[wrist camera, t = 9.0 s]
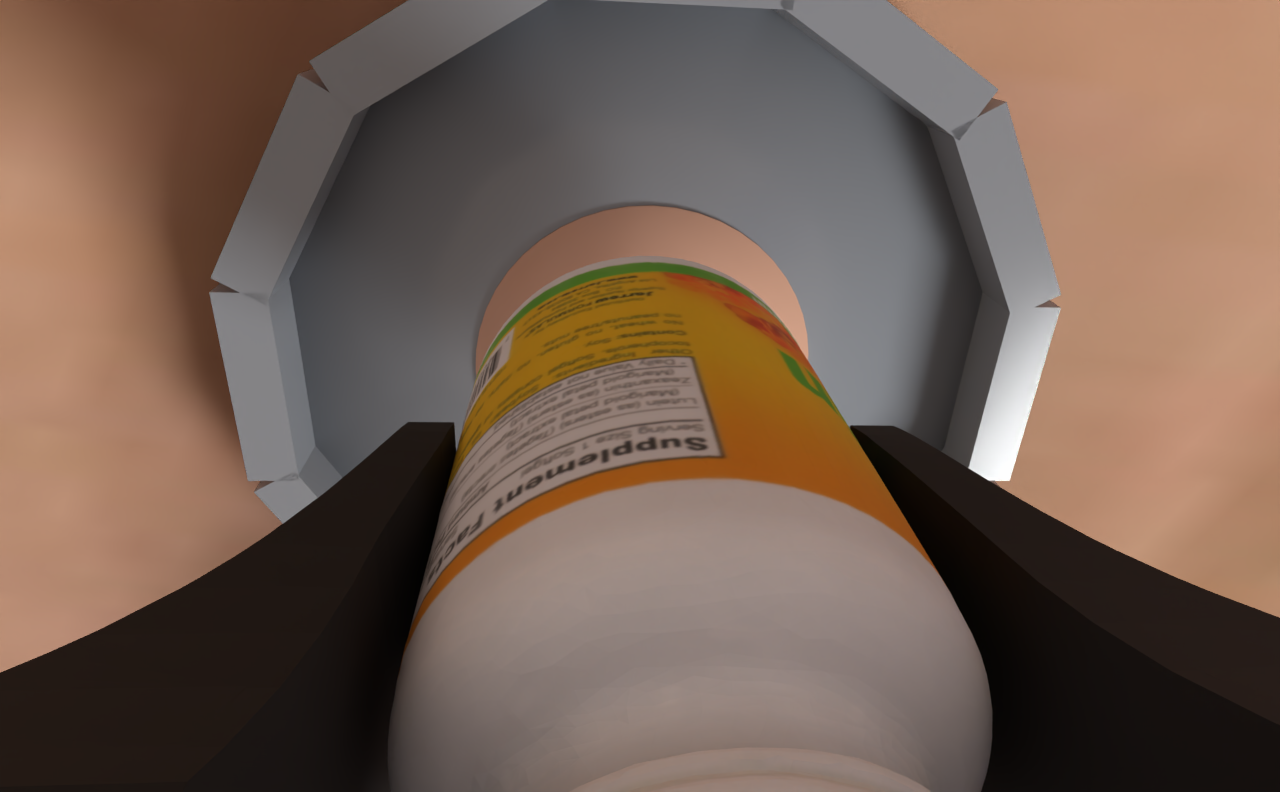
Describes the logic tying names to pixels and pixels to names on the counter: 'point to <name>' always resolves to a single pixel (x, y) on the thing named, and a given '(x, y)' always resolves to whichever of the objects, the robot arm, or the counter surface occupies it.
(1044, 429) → the counter surface
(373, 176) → the round tray
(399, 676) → the supplement bottle
